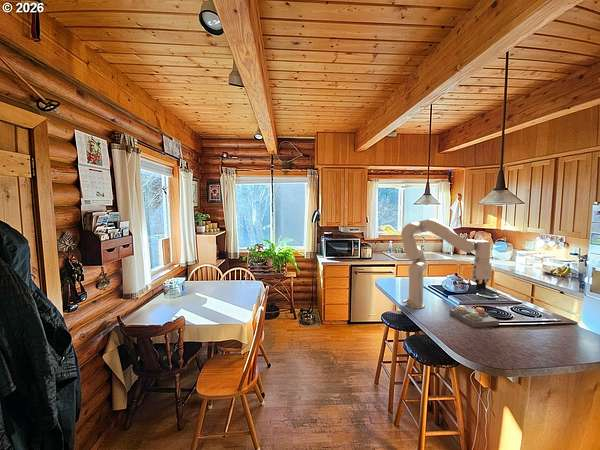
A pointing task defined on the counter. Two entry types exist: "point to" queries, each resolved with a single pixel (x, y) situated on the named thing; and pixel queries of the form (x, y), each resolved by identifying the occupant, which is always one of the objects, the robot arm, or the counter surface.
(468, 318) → the button panel
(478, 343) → the counter surface
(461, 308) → the cream button
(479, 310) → the terracotta button
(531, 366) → the counter surface
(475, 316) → the sage button
